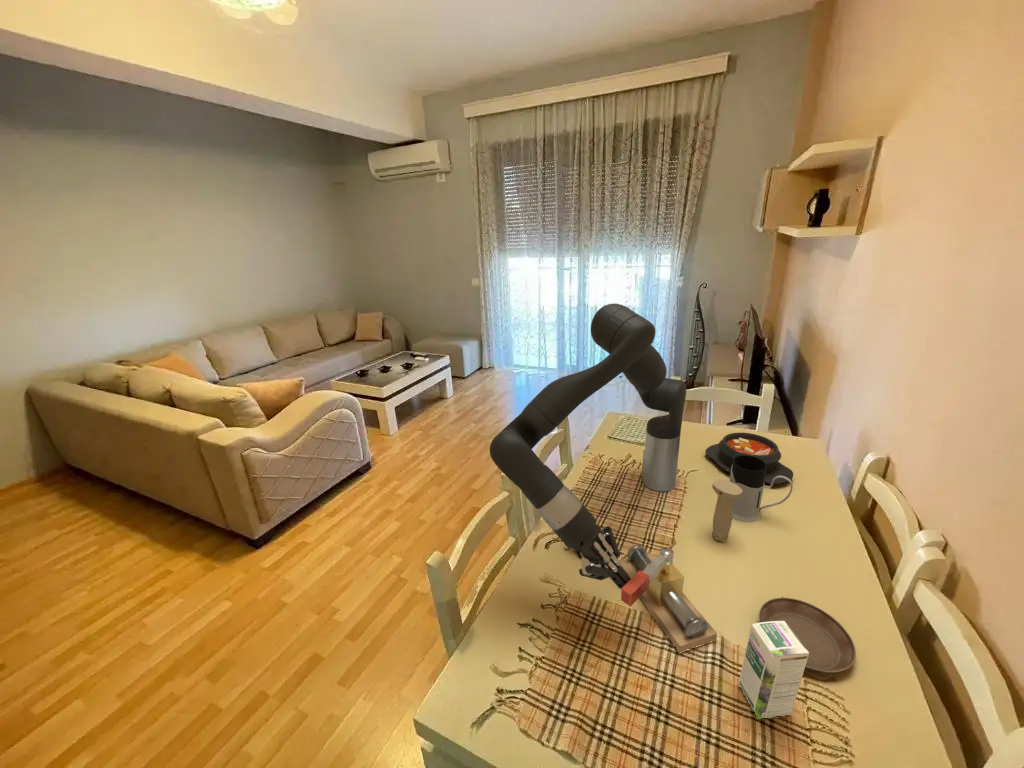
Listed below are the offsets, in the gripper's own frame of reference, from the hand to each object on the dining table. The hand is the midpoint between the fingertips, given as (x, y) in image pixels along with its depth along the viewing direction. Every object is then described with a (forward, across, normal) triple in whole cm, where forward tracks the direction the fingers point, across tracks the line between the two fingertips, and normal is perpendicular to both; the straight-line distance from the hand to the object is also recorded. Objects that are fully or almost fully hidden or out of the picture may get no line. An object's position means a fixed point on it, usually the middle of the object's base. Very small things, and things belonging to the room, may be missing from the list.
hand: (627, 585), depth 79 cm
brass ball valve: (+11, +10, +3) cm, 14 cm away
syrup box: (+24, -3, -9) cm, 26 cm away
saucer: (+29, +12, -13) cm, 34 cm away
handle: (+18, +34, -2) cm, 39 cm away
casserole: (+22, +71, -5) cm, 75 cm away
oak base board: (+12, +10, +4) cm, 15 cm away
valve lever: (+3, +4, -2) cm, 5 cm away
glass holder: (+23, +47, -7) cm, 53 cm away
